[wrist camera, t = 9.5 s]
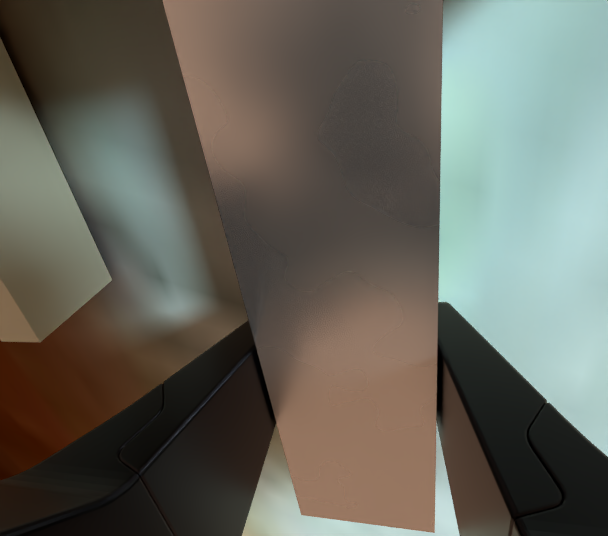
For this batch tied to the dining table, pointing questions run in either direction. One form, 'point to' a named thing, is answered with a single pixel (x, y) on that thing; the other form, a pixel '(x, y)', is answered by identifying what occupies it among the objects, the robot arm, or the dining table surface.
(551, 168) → the dining table surface
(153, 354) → the dining table surface
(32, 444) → the dining table surface
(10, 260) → the cradle
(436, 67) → the pinkish brown square bar
